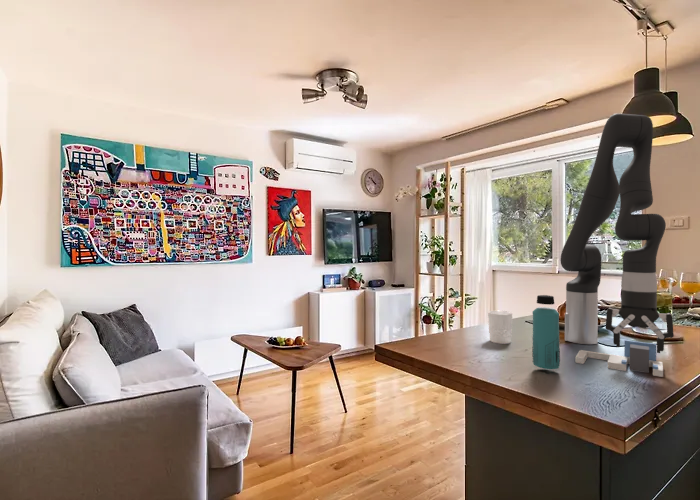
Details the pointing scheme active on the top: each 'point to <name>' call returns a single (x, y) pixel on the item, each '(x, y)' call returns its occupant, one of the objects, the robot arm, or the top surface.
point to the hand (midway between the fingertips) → (637, 349)
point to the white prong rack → (623, 358)
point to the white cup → (500, 326)
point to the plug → (639, 358)
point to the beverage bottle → (545, 335)
